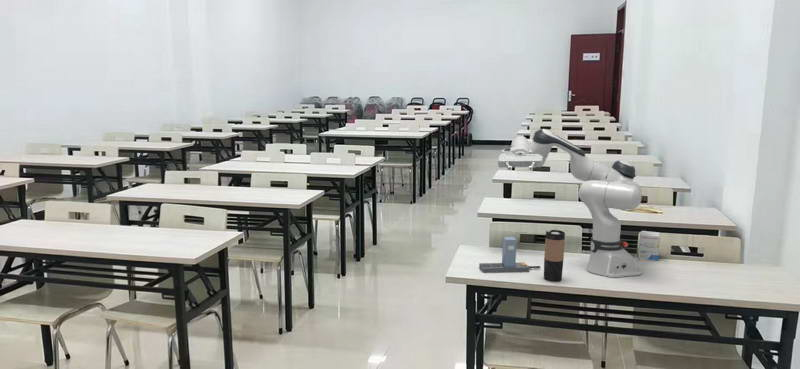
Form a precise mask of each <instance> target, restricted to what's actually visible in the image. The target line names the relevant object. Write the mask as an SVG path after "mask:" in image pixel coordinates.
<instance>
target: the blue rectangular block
mask: <svg viewBox="0 0 800 369" xmlns="http://www.w3.org/2000/svg"><path fill="white" fill-rule="evenodd" d="M501 256H502V257H501V258H502V259H501V263H502V266H503V267H515V263H517V260H516V259H517V238H515V237H514V236H504V237H502V255H501Z"/></svg>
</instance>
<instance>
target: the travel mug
mask: <svg viewBox="0 0 800 369" xmlns="http://www.w3.org/2000/svg"><path fill="white" fill-rule="evenodd" d="M565 236H566V232H565V231H563V230H558V229H551V230H548V231H547V230H546V231H545V244H544V256H543V279H544V280H545V281H548V282H551V283H557V282H561V281H562V277H563V268H564V260H565V259H564V257H565V238H566V237H565Z"/></svg>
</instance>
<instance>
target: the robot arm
mask: <svg viewBox="0 0 800 369" xmlns="http://www.w3.org/2000/svg"><path fill="white" fill-rule="evenodd" d="M553 147H556V148H559V150H563V151H564V152H566V153H568V154H569V158H570V159H569V160H570V161H569V168H570V169H569V170H570V173H571V175H572V176H573V178H575V179H577V180H579V181H581V182H582V183H581V184H580V186H579V189H578V197H579V200H580V201H581V202H582V203H583V204H584V205H585V206H586V207H587V209H588V211H589V212H590V215H591V218H592V236H591V238H590V254H589V258H588V259H589V260H588V262H587V265H586V268H585V269H586V270H587V271H588V272H590V273H591V274H596V275H600V276H605V277H609V278H623V277H624V278H625V277H632V276H633V277H634V276H641V275H642V270H641V269H640V268H638V267H637V262H636V259H635V257H634V256H633V255H631V254H630V253H629V252H628V251H627V250H626V249H624V247H625V248H627V247H629V243H628V242H626V241H623V240H621V229H622V228H621V225H622V224H621V222H620V220H619V219H618V218H617V217H616V216H614V214H612V213H611V211H610V209H613V210H614V209H615V210H621V211H625V210H627V211H630V210H636V209H637V208H638V207H639V206H640V204H641V203H642V196H643V195H642V189H641V188H642V187H641V186H640V185H639V184H638V182H636V181H635V180H634V179H635V178H636V177H637V176H636V168H635V165H633V164H632V163H630V161H627V160H616V161H614V163H613V164H612V165H611V168H610V167H608V166H607V165H605V164H604V163H601V162H599V161H596V160H593V159H591V158H588V156H587V155H586V153H585V152H586V151H584V150H583V149H582V148H580V147H579V146H577V145H575V144H573V143H572V142H569V141H568V140H566V139H564V138H563V137H560V136H559V135H556V134H555V133H554V132H552V131H550V130H549V129H546V128H541V129H538V130H536V131H535V132H534V133H533V137H532V140H531V143H530V142H529V140H528V139H527V137H525V136H523V135H519V136H516V137H515V138H513V139H512V142H511V145H510V147H509V148H506V149H502V150H501V153H500V154H499V156H498V159H497V167H498V168H506V169H507V170H508V171H512V168H529V169H528V170H529V171H533V170H534V168H541V167H543V165H544V164H545V163H546V160H547V159H548V156H549V154H550V152H551V151H552V150H551V149H552V148H553Z"/></svg>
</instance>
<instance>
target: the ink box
mask: <svg viewBox="0 0 800 369" xmlns="http://www.w3.org/2000/svg"><path fill="white" fill-rule="evenodd" d="M638 244H639V245H638V259H641V260H649V261H659V254H660V244H661V232H657V231H647V230H641V231H640V233H639V242H638Z"/></svg>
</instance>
